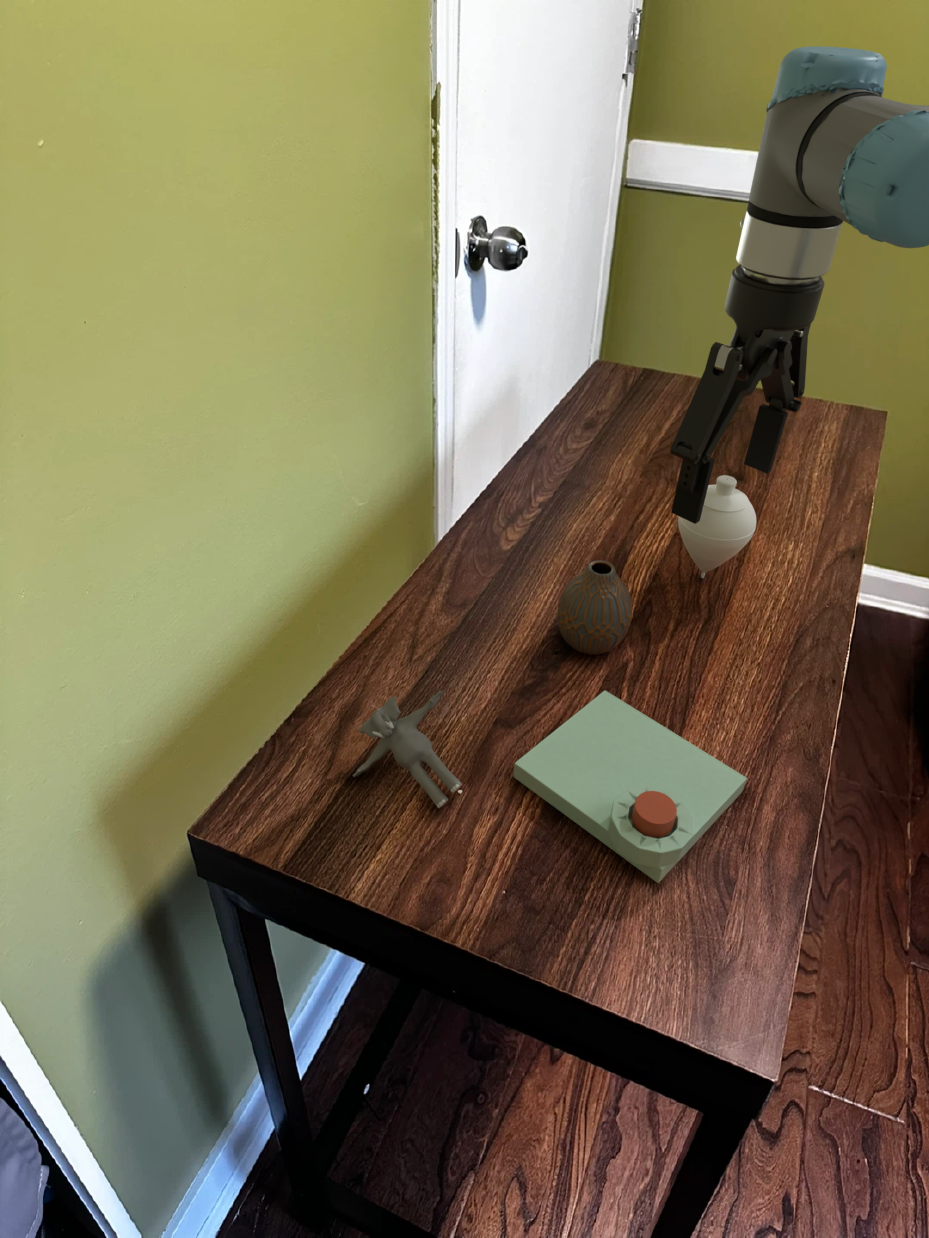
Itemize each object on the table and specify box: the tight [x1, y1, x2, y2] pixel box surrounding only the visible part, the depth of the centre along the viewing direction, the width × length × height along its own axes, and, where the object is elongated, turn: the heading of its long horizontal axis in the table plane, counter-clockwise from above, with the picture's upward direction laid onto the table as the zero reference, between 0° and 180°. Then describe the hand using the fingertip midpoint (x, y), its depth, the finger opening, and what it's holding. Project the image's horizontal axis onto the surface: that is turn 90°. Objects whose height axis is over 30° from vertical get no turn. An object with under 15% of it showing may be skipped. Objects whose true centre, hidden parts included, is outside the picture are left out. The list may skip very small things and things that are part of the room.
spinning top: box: [677, 474, 757, 579], centre depth 87 cm, size 8×8×12 cm
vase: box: [556, 559, 633, 656], centre depth 80 cm, size 7×7×9 cm
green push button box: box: [512, 690, 748, 884], centre depth 67 cm, size 14×13×4 cm
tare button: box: [632, 791, 677, 837], centre depth 62 cm, size 3×3×2 cm
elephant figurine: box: [352, 689, 463, 809], centre depth 67 cm, size 10×6×9 cm
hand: (722, 491), depth 85 cm, fingers open, 13 cm apart
